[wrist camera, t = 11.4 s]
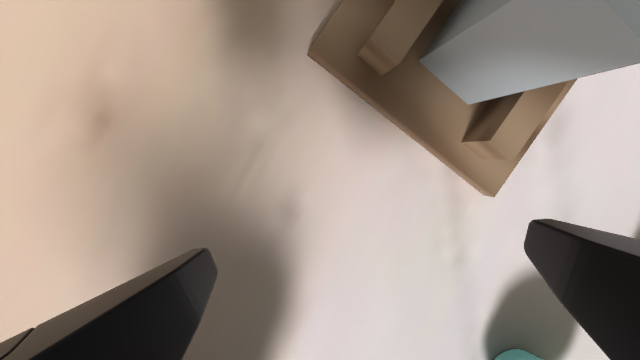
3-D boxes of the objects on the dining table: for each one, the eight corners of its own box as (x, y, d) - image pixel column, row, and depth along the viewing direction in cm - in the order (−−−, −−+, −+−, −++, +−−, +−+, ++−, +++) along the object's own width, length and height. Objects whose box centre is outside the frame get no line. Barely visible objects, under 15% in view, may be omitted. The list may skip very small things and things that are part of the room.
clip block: (468, 104, 18) (656, 59, 9) (418, 60, 17) (570, -38, 8) (507, 49, 18) (734, -53, 9) (458, 2, 17) (657, -161, 8)
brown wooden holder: (483, 194, 20) (526, 204, 16) (307, 54, 17) (314, 30, 13) (576, 61, 20) (639, 43, 16) (416, -103, 17) (452, -168, 13)
